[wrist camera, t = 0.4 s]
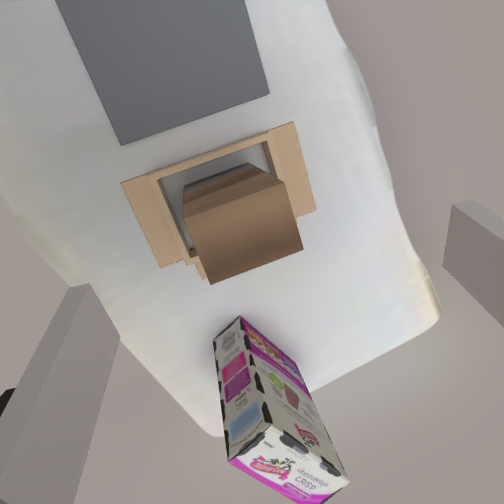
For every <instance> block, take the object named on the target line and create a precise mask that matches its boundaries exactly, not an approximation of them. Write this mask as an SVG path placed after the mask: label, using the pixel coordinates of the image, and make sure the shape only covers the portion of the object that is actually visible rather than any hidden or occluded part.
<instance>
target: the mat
mask: <svg viewBox="0 0 504 504" xmlns="http://www.w3.org/2000/svg"><path fill="white" fill-rule="evenodd" d="M55 1H56V3H57V5H58V7H59V10H60V12H61V14H62V16H63V18H64V21H65V23H66V25H67V27H68V29H69V32H70V34H71V36H72V38H73V40H74V43H75V45H76V47H77V49H78V51H79V54H80V56H81V58H82V60H83V62H84V65H85V67H86V69H87V71H88V74H89V76H90V78H91V80H92V82H93V85H94V87H95V89H96V91H97V93H98V96H99V98H100V100H101V102H102V104H103V107H104V109H105V111H106V113H107V115H108V118H109V120H110V122H111V124H112V126H113V129H114V131H115V133H116V135H117V137H118V140H119V142H120V144H121V146H122V145H125V144H127V143H130V142H133V141H136V140H139V139H142V138H145V137H147V136H150V135H153V134H156V133H159V132H162V131H165V130H167V129H170V128H173V127H176V126H179V125H182V124H184V123H187V122H190V121H193V120H196V119H199V118H202V117H204V116H207V115H210V114H213V113H216V112H219V111H222V110H224V109H227V108H230V107H233V106H236V105H239V104H242V103H244V102H247V101H250V100H253V99H256V98H259V97H262V96H264V95H267V94H270V92H269V88H268V85H267V81H266V78H265V74H264V70H263V67H262V63H261V59H260V56H259V52H258V48H257V45H256V41H255V38H254V34H253V30H252V27H251V23H250V19H249V16H248V12H247V8H246V5H245V1H244V0H55Z"/></svg>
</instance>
